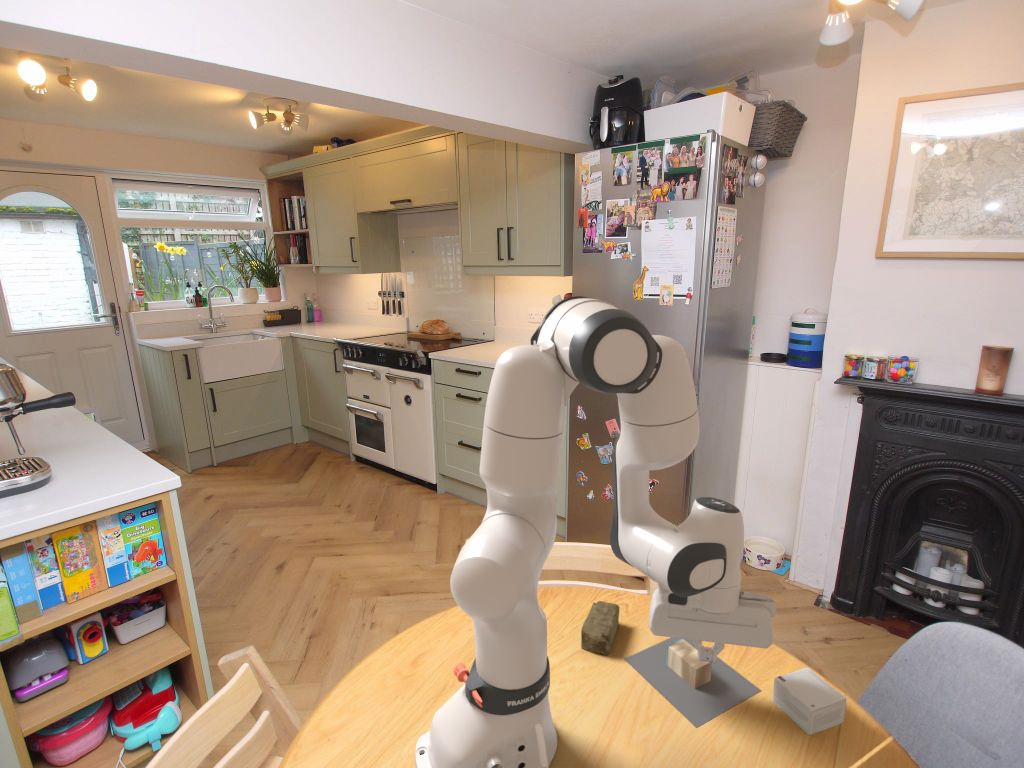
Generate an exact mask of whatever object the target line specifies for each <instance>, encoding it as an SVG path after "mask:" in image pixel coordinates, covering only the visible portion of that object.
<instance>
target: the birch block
mask: <svg viewBox="0 0 1024 768" xmlns="http://www.w3.org/2000/svg"><path fill="white" fill-rule="evenodd" d="M666 665H668V666H669V667H670V668H671V669H672V670H673V671H674V672H676V673H677V674H678V675H679V676H680V677H681V678H682V679H684V680H685V681H686V682H687V683H688V684H689V685H690V686H692V687H693V688H694V689H696V688H698V687H699V686H701V685H703V684H705V683H707V682H709V681H710V680H711V666H712V662H706V661H699V660H698V651H697V649H695V648H694V647H693V646H691V645H690V644H689V643H688V642H686V641H685V640H684V639H680V640H678V641H676V642H674V643H672V644H669V645H667V655H666Z"/></svg>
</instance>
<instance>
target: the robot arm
mask: <svg viewBox="0 0 1024 768" xmlns="http://www.w3.org/2000/svg"><path fill="white" fill-rule="evenodd" d="M534 342H535V343H534ZM580 383H581V385H583V386H584V387H585V388H587V389H589V390H592V391H594V392H599V393H602V394H603V393H604V394H611V395H613V394H614V395H615V394H616V396H617V405H618V414H619V420H620V433H619V434H618V435H617V437H616V439H615V440H614V444H613V448H612V449H613V450H612V490H613V491H612V493H613V494H612V495H613V498H612V499H613V515H612V522H611V527H610V532H609V533H610V534H609V543H610V544H609V545H610V549H611V551H612V553H613V554H614V557H616V558H617V559H618V560H620V561H621V562H624V563H625V564H627V565H629V566H630V567H632V568H634V569H636V570H637V571H639V572H640V573H642V574H644V576H646V577H647V578H649V579H650V580H652V581H654V582H655V583H657V588H656V589H655V590H654V592H653V593H652V596H651V600H650V601H651V602H650V606H649V614H648V626H649V627H648V628H649V631H650V632H651V634H652V635H653V636H656V637H658V636H659V637H666V638H671V637H673V638H682V639H690V640H693V644H694V646H695V648H696V649H697V651H698V660H699V661H706V662H714V663H716V659H717V657H718V655H719V654H720V653H721V652H722V651H723V650H724V649H725V645H735V646H743V647H751V648H761V649H768V648H770V647H771V646H772V645H773V644H774V625H773V624H774V623H773V618H774V617H775V616H776V613H777V602H776V601H775V599H774V598H772V597H770V596H769V595H768V594H766V593H761V592H758V593H754V592H751V591H750V592H749V591H743V590H742V591H741V583H742V573H741V570H740V569H741V568H740V565H741V561H742V560H743V558H744V557H743V556H744V549H745V546H744V545H745V543H744V542H745V526H744V525H745V524H744V519H743V518H744V517H743V513H742V512H741V510H740V509H739V508H738V507H737V506H736V505H734V504H732V503H730V502H727V501H725V500H723V499H721V498H720V499H719V498H715V497H711V496H700V497H696V498H695V499H694V500H693V501H694V502H693V503H692V506H691V511H690V513H689V515H688V516H687V517H686V519H684V521H683V522H681V523H680V524H678V525H675V524H673V523H672V522H670V521H669V520H667V519H665V518H663V517H661V516H660V515H659V514H658V513H657V512H656V511H655V509H653V508H652V505H651V504H650V471H658V470H659V471H660V470H662V469H663V470H664V469H666V468H671V467H673V466H675V465H677V464H679V463H681V462H683V461H684V460H686V459H687V458H688V457H690V455H692V453H693V451H694V450H695V449H696V447H697V446H698V443H699V437H700V426H701V425H700V416H699V415H700V414H699V407H698V398H697V393H696V392H697V391H696V386H695V382H694V378H693V373H692V369H691V367H690V362H689V359H688V356H687V353H686V351H685V348H684V347H683V345H682V344H681V343H680V342H679V341H677V340H676V339H674V338H672V337H670V336H666V335H661V334H652V333H651V332H650V331H649V330H648V328H647V326H646V325H645V324H644V323H643V322H642V321H641V320H640V319H639V318H638V317H637V316H635V315H634V314H632V313H630V312H629V311H626V310H624V309H620V308H618V307H616V306H615V305H614V304H612V303H611V302H608V301H605V300H601V299H596V298H589V297H587V296H578V295H577V296H570V297H566V298H564V299H561V300H559V301H558V302H556V303H555V304H553V305H552V306H551V307H550V309H549V310H548V311H547V312H546V314H545V316H544V317H543V319H542V320H541V323H540V325H539V326H538V328H536V330H535V331H534V333H533V334H532V336H531V338H530V344H520V345H516V346H513V347H511V348H508V349H507V350H504V352H502V353H501V354H500V356H499V357H498V358H497V360H496V362H495V365H494V369H493V371H492V376H491V380H490V383H489V388H488V392H487V398H486V402H485V410H484V418H483V428H482V438H481V439H482V441H481V449H480V460H479V471H478V472H479V476H480V479H481V480H482V483H484V484H485V490H486V496H487V497H486V499H487V504H486V505H487V506H486V512H485V514H484V516H483V519H482V521H481V523H480V524H479V526H478V528H477V529H476V530H475V532H474V533H473V534H472V535H471V536H470V537H469V538H468V540H466V542H465V543H464V545H463V546H462V547H461V548H460V552H459V553H458V555H457V558H456V561H455V563H454V566H453V569H452V572H451V575H450V580H449V581H450V582H449V584H450V586H449V587H450V591H451V594H452V597H453V600H454V601H455V603H456V604H457V606H458V607H459V609H461V610H462V611H463V612H464V613H465V614H466V615H468V616H469V617H471V619H472V622H473V630H474V650H475V652H474V653H475V657H474V660H473V663H472V665H471V668H470V670H468V669H467V666H466V665H465V664H464V663H462V662H461V663H457V664H456V665H455V667H453V674H454V676H455V677H456V678H457V680H458V682H460V683H464V684H463V685H462V686H461V687H460V688H459V689H458V690H457V691H456V692H455V693H454V694H453V695H452V696H451V697H450V698H449V699H448V700H447V701H446V702H445V703H444V704H443V705H442V706H441V707H440V708H439V709H438V710H437V711H436V712H435V713H434V714H433V717H432V719H431V720H432V721H431V724H430V729H429V730H428V731H427V732H425V733H423V734H422V735H420V737H419V738H417V742H416V745H415V753H414V754H415V755H414V758H415V759H414V761H416V763H415V768H416V767H417V768H550V765H551V763H552V760H553V759H554V757H555V755H556V752H557V747H558V733H557V730H556V727H555V724H554V721H553V718H552V712H551V707H550V700H549V690H550V686H551V669H550V667H551V665H550V660H549V656H548V641H547V640H548V619H547V616H546V613H545V612H544V610H543V608H542V606H540V604H539V599H538V588H539V587H538V586H539V581H540V578H541V574H542V570H543V568H544V566H545V563H546V561H547V559H548V557H549V555H550V552H551V551H552V549H553V547H554V545H555V540H556V535H557V525H558V517H557V516H558V515H557V512H558V510H557V509H558V507H557V504H558V503H557V481H558V470H559V465H560V456H561V448H562V439H563V435H564V434H563V432H564V423H565V412H566V407H567V405H568V402H569V399H570V397H571V394H572V393H573V392H574V390H575V389H576V388H577V386H578V385H579V384H580ZM703 642H707V643H708V642H709V643H713V644H712V645H711V647H707V646H704V647H702V646H701V645H703ZM421 753H424V754H421ZM420 754H421V755H420Z"/></svg>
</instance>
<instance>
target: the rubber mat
mask: <svg viewBox="0 0 1024 768" xmlns="http://www.w3.org/2000/svg"><path fill="white" fill-rule="evenodd" d="M680 639H682V638H673V637H668V638H667V639H665V640H663V641H660V642H658V643H655V644H654V645H652V646H651V645H650V647H647V648H645V649H642V650H640V651H637V652H635V653H634V654H631V655H630V656H629V655H628V656H627V657H624V658H623V660H625V662H626V663H628V665H629V666H630V667H632V668H633V669H634V671H636V672H637V674H639V675H640V676H641V677H642V678H643V679H644V680H645V681H647V683H649V685H650V686H652V688H654V689H655V690H656V691H657V692H658V693H659V694H660V695H661V696H662V697H663V698H664V699H665V700H666V701H667V702H668V703H669V704H670V705H671V706H673V707H674V708H675V709H676V710H677V711H678V712H679V713H680V714H681V716H684V718H685V719H686V720H687V721H688V722H689V723H691V725H693V726H694V727H695V729H697V728H699V727H701V726H703V725H704V724H706V723H707V722H710V721H711V720H713V719H715V718H716V717H718V716H721V715H722V714H724V713H725V712H728V711H729V710H731V709H732V708H734V707H736V706H737V705H739V704H741V703H744V701H746V700H748V699H749V698H752V697H753V696H755V695H757V694H759V693H760V692H762V689H760V688H759V687H758V686H756V685H755V684H754V683H752V682H751V681H750V680H748V679H747V678H746V677H744V676H743V675H742V674H741V673H740V672H738V671H737V670H735V669H734V668H733V667H731V666H730V665H729V664H727V663H726V662H725V661H724V660H722V659H721V658H720V657H719V656H717V659H716V663H714V662H712V666H711V680H710V681H709V682H707V683H705V684H703V685H701V686H699V687H698V688H696V689H694V688H693V687H692V686H690V685H689V684H688V683H687V682H686V681H685V680H684V679H682V678H681V677H680V676H679V675H678V674H677V673H676V672H674V671H673V670H672V669H671V668H670V667H669V666H668V665H666V655H667V645H669V644H672V643H674V642H676V641H678V640H680ZM684 640H685V641H686V642H688V643H689V644H690V645H691V646H693V647H694V648H695V646H694V644H693V640H690V639H684ZM701 646H702V647H705V646H704V645H703V644H702V645H701ZM695 649H696V648H695Z"/></svg>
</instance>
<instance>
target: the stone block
mask: <svg viewBox="0 0 1024 768" xmlns="http://www.w3.org/2000/svg"><path fill="white" fill-rule="evenodd" d="M619 618H620V605H618V604H616V603H611V602H607V601H606V602H605V601H601V600H599V601H597V602H592V606H591V608H590V610H589V612H588V614H587V616H586V618H585V619H584V622H583V624H582V627H581V630H580V631H581V632H580V633H581V638H580V642H581V643H580V647H581V649H582V650H584V651H587V652H590V653H593V654H602V655H604V656H607V655H609V653H610V652H611V648H612V646H613V642H614V640H615V637H616V635H617V630H618V627H619Z"/></svg>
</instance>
